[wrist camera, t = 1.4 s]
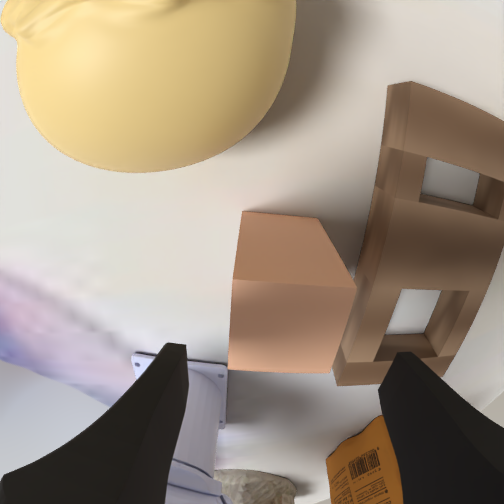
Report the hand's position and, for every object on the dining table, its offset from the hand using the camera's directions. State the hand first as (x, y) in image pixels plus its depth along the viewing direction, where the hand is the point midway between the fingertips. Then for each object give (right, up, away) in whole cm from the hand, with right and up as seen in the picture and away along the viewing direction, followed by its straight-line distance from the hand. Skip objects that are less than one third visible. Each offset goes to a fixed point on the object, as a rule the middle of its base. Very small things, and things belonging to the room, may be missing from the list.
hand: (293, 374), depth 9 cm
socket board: (+11, +4, +9) cm, 15 cm away
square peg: (0, +4, +9) cm, 10 cm away
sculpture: (-5, +15, +5) cm, 17 cm away
